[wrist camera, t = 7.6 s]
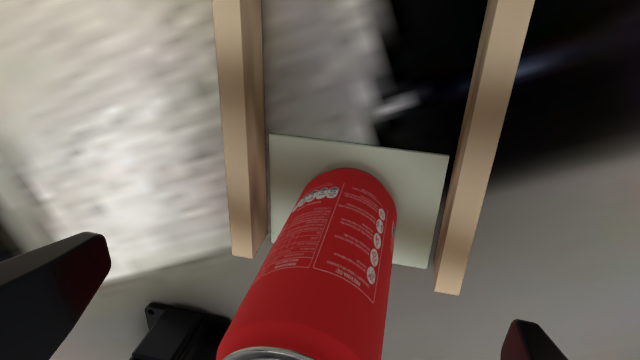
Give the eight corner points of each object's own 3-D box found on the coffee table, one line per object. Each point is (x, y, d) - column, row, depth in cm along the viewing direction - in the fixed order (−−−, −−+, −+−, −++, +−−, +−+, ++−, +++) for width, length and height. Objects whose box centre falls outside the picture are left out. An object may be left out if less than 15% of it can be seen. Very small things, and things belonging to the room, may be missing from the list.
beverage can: (392, 156, 21) (359, 348, 10) (402, 242, 23) (383, 471, 13) (295, 164, 22) (180, 340, 12) (313, 243, 24) (230, 451, 14)
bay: (454, 271, 23) (459, 325, 20) (249, 236, 25) (221, 279, 22) (561, -173, 14) (604, -217, 11) (227, -168, 16) (174, -204, 13)
